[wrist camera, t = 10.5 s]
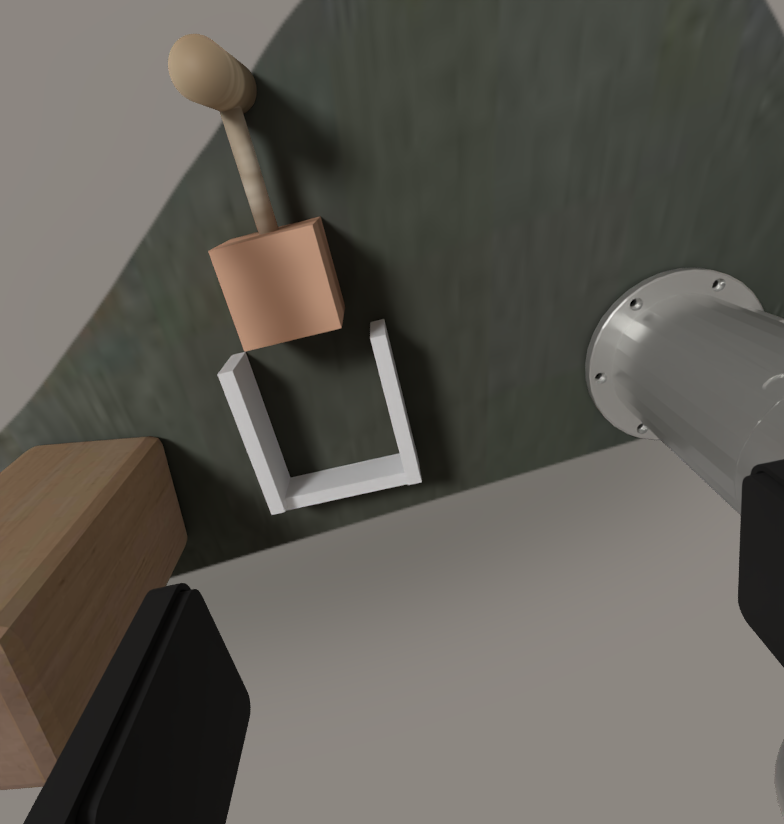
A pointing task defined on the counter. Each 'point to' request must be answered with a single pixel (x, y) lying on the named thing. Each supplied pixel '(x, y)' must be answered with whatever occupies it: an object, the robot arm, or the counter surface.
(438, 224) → the counter surface
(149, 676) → the robot arm
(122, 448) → the wooden block
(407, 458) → the white u-shaped bracket
